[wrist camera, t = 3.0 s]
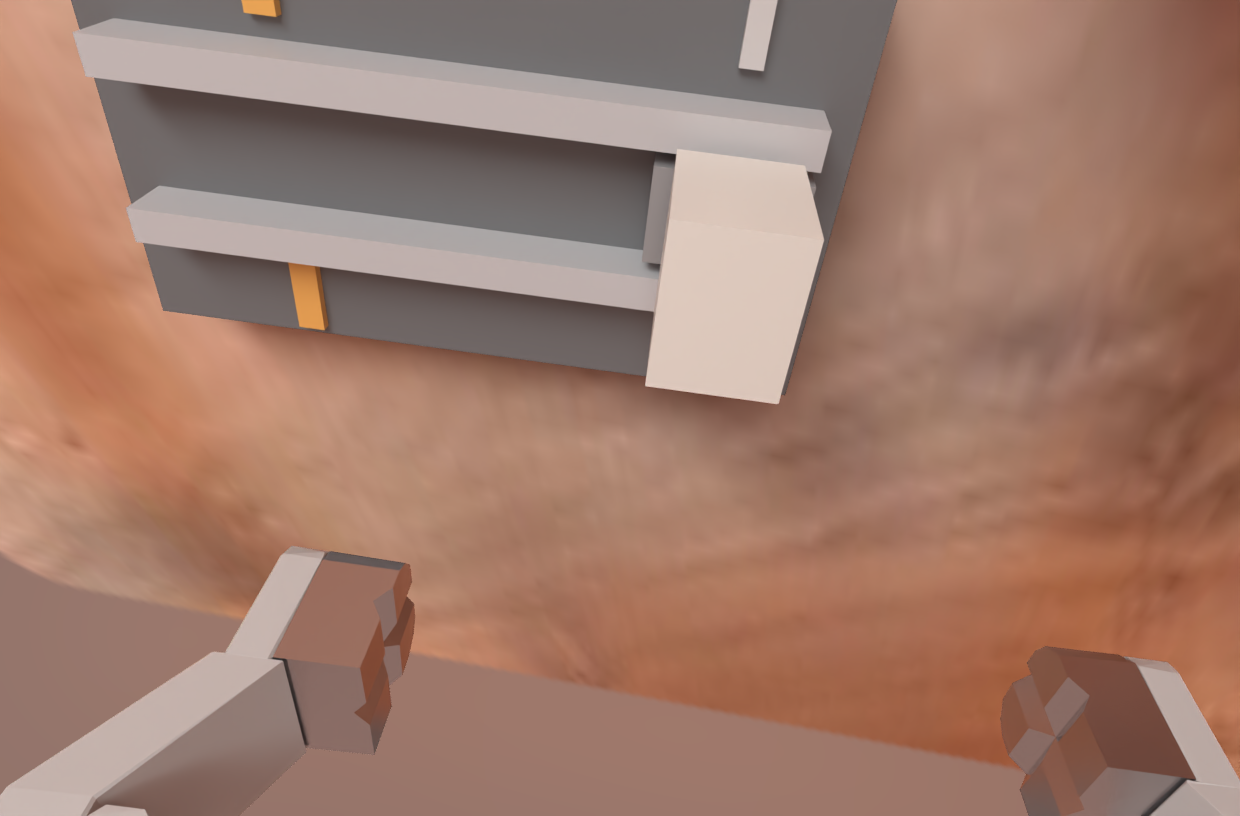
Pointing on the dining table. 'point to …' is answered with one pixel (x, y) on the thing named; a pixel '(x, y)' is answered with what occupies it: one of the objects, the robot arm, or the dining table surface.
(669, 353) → the fader knob
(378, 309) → the fader console
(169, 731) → the robot arm
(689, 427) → the dining table surface
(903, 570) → the dining table surface
